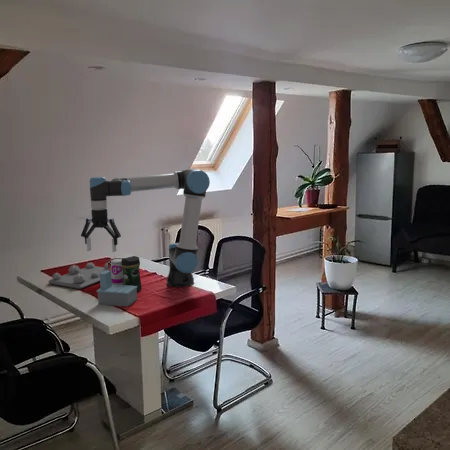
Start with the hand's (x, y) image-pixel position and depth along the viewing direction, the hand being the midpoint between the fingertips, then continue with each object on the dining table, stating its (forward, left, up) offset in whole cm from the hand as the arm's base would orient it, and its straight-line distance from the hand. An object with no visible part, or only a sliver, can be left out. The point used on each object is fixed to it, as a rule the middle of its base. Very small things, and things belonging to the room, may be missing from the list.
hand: (101, 251), depth 224 cm
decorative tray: (+28, -30, -26) cm, 48 cm away
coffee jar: (-8, -16, -25) cm, 31 cm away
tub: (-9, +2, -25) cm, 27 cm away
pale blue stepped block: (-9, +2, -19) cm, 21 cm away
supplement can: (+2, -21, -25) cm, 33 cm away
